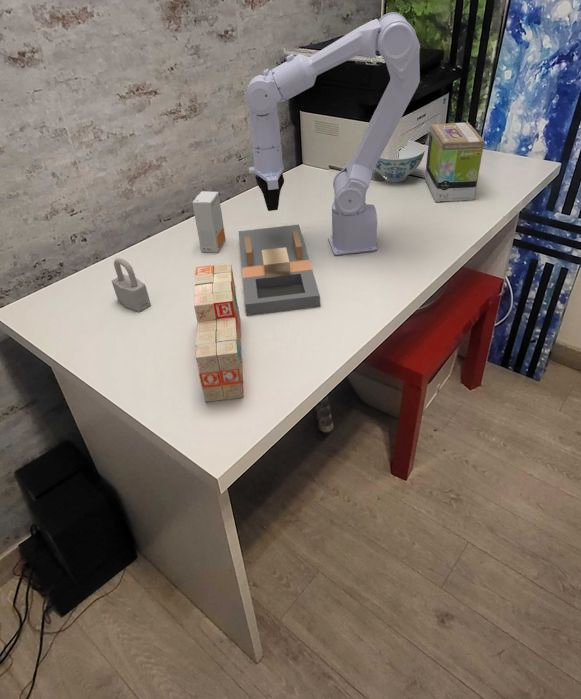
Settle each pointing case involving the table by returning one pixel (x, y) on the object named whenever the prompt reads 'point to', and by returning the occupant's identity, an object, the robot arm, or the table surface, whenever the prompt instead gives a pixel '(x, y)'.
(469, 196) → the tea box
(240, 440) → the table surface
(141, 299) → the padlock
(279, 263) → the birch block
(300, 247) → the tunnel deck
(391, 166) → the chinaware
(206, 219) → the skincare box
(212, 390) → the stack of blocks
